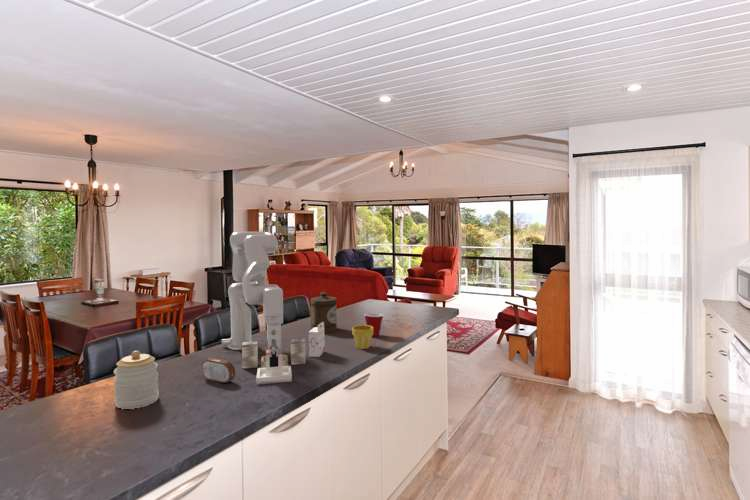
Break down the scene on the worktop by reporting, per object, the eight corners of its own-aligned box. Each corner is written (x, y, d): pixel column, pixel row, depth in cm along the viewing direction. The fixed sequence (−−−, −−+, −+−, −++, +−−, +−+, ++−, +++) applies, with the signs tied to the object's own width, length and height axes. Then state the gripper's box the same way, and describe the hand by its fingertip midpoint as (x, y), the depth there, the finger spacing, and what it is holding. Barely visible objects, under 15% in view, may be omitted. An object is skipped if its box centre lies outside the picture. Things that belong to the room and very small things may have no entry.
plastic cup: (387, 334, 226) (387, 313, 225) (377, 339, 216) (377, 316, 216) (370, 332, 231) (370, 310, 231) (359, 336, 222) (359, 314, 222)
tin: (236, 382, 158) (235, 360, 157) (230, 385, 155) (229, 363, 154) (207, 376, 164) (206, 355, 164) (200, 379, 161) (200, 358, 161)
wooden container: (335, 333, 229) (334, 293, 228) (308, 333, 229) (308, 293, 228) (337, 326, 244) (337, 289, 243) (312, 326, 244) (312, 289, 243)
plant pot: (364, 351, 196) (364, 331, 195) (347, 347, 202) (347, 327, 202) (377, 346, 204) (377, 326, 204) (361, 342, 210) (361, 323, 210)
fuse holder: (242, 370, 171) (241, 346, 170) (243, 363, 179) (243, 340, 179) (305, 365, 177) (305, 342, 176) (304, 358, 185) (304, 336, 185)
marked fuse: (266, 378, 160) (265, 352, 159) (266, 374, 164) (266, 349, 163) (282, 376, 161) (281, 351, 161) (282, 373, 165) (281, 348, 164)
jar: (127, 414, 131) (125, 359, 130) (107, 404, 138) (105, 352, 137) (167, 399, 142) (165, 348, 141) (146, 391, 149) (144, 343, 148)
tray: (256, 384, 156) (256, 378, 155) (257, 374, 166) (257, 368, 166) (291, 381, 159) (291, 375, 158) (290, 371, 169) (290, 365, 169)
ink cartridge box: (314, 351, 197) (314, 320, 196) (324, 351, 196) (324, 321, 195) (308, 356, 188) (308, 324, 187) (318, 357, 187) (318, 325, 186)
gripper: (283, 323, 153) (284, 369, 154) (282, 314, 170) (283, 355, 171) (262, 325, 152) (263, 370, 153) (264, 315, 169) (264, 356, 170)
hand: (274, 362), depth 162 cm, fingers open, 9 cm apart
